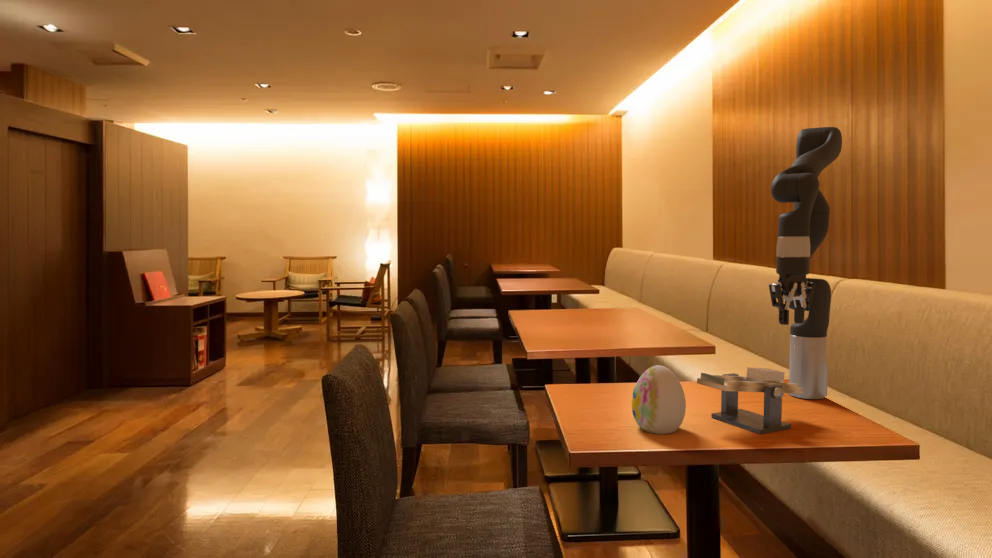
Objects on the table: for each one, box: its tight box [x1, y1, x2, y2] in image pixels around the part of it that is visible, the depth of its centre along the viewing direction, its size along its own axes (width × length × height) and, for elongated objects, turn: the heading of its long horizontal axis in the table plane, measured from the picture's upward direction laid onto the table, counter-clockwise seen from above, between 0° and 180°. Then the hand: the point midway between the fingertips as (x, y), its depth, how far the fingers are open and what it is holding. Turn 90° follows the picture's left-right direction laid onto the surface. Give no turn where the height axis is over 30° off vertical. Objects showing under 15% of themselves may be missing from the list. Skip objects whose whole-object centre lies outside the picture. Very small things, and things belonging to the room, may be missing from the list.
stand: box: [711, 372, 792, 435], centre depth 151 cm, size 10×17×10 cm, turn 25°
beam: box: [696, 372, 804, 394], centre depth 151 cm, size 26×11×3 cm, turn 116°
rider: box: [745, 366, 786, 383], centre depth 153 cm, size 7×5×4 cm
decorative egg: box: [631, 364, 687, 435], centre depth 147 cm, size 12×12×15 cm
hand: (791, 323), depth 156 cm, fingers open, 4 cm apart
